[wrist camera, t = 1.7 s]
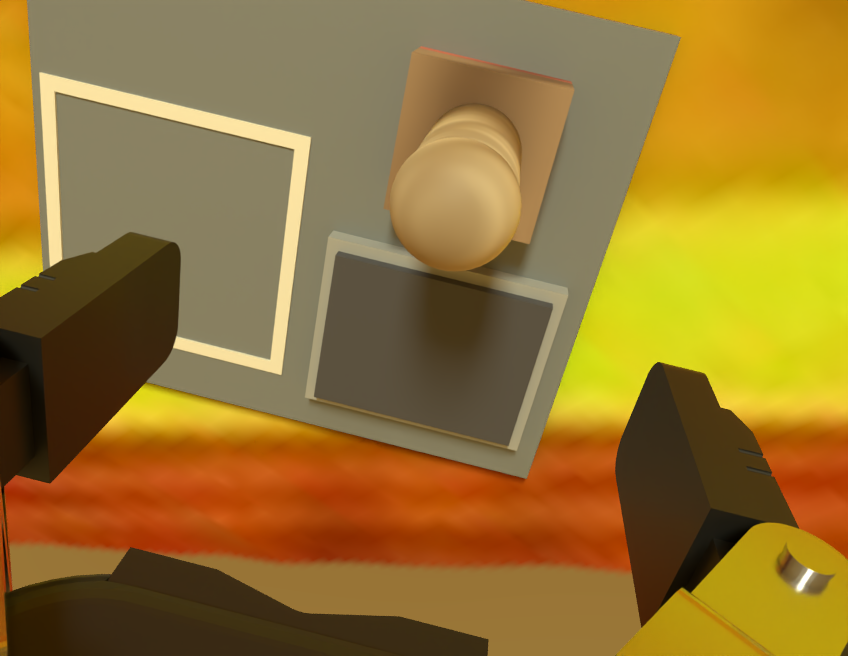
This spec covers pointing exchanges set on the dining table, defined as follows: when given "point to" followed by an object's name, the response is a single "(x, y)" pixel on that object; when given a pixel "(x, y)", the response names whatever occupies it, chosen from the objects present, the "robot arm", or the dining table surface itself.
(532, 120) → the stamp
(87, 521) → the dining table surface
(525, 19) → the desk board
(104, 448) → the dining table surface
